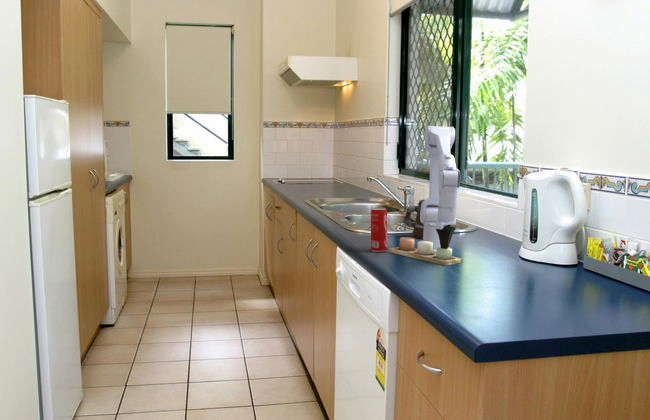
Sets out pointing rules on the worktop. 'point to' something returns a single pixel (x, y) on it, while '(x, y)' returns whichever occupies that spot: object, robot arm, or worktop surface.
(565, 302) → the worktop surface
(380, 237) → the beverage can
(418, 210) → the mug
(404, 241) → the button terracotta
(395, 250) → the wooden board
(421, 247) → the button cream
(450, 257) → the button sage
